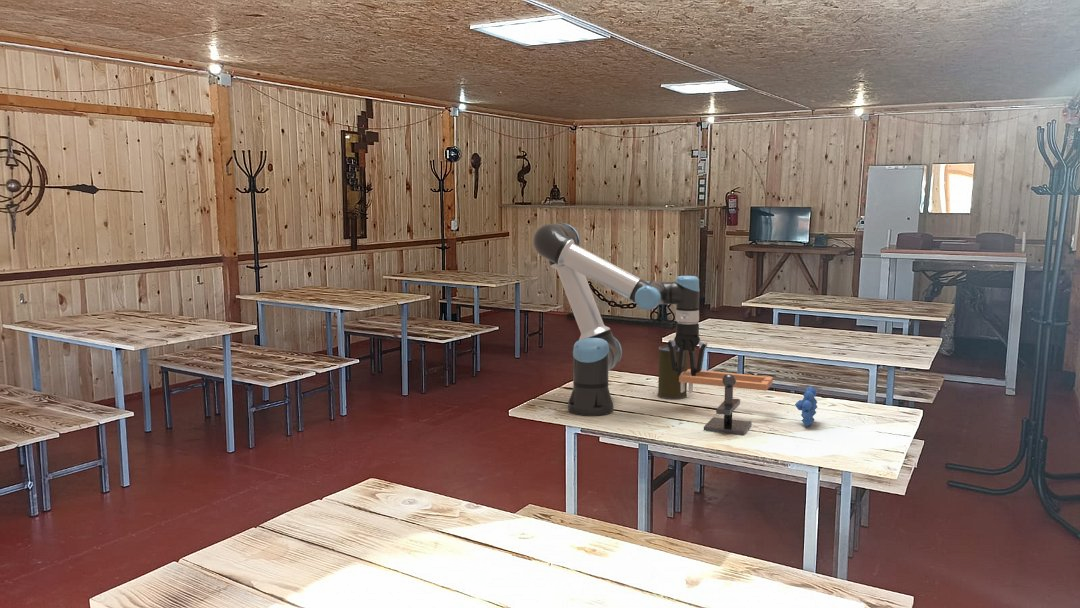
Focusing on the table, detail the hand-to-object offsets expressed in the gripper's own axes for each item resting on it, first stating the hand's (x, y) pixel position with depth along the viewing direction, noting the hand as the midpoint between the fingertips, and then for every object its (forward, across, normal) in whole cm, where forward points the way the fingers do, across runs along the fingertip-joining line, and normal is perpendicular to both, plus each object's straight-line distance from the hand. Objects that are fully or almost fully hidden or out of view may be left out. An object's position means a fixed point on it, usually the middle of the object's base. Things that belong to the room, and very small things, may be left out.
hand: (686, 391), depth 265 cm
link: (-4, +13, 0) cm, 14 cm away
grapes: (+6, +39, -4) cm, 39 cm away
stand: (+6, +18, -18) cm, 26 cm away
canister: (+6, -9, +15) cm, 18 cm away
